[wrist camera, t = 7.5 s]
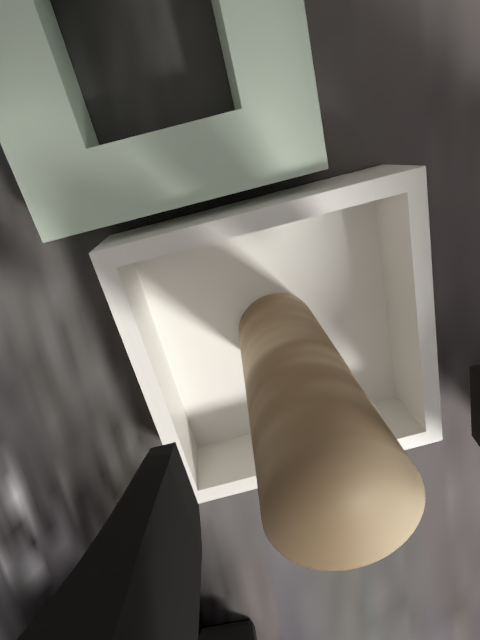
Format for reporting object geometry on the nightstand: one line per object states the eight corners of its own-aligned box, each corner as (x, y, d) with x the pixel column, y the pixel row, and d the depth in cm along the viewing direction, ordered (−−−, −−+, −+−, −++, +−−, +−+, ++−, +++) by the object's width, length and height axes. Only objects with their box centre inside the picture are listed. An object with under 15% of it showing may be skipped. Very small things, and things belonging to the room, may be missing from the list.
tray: (382, 164, 15) (425, 165, 12) (405, 397, 18) (442, 440, 16) (109, 235, 15) (88, 253, 12) (188, 454, 18) (186, 506, 16)
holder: (255, -181, 11) (267, -249, 9) (311, 167, 14) (328, 168, 13) (-70, -96, 11) (-125, -148, 9) (62, 232, 14) (42, 243, 13)
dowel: (307, 284, 15) (415, 421, 7) (322, 354, 16) (433, 549, 8) (229, 305, 15) (242, 464, 7) (249, 373, 17) (281, 585, 8)
